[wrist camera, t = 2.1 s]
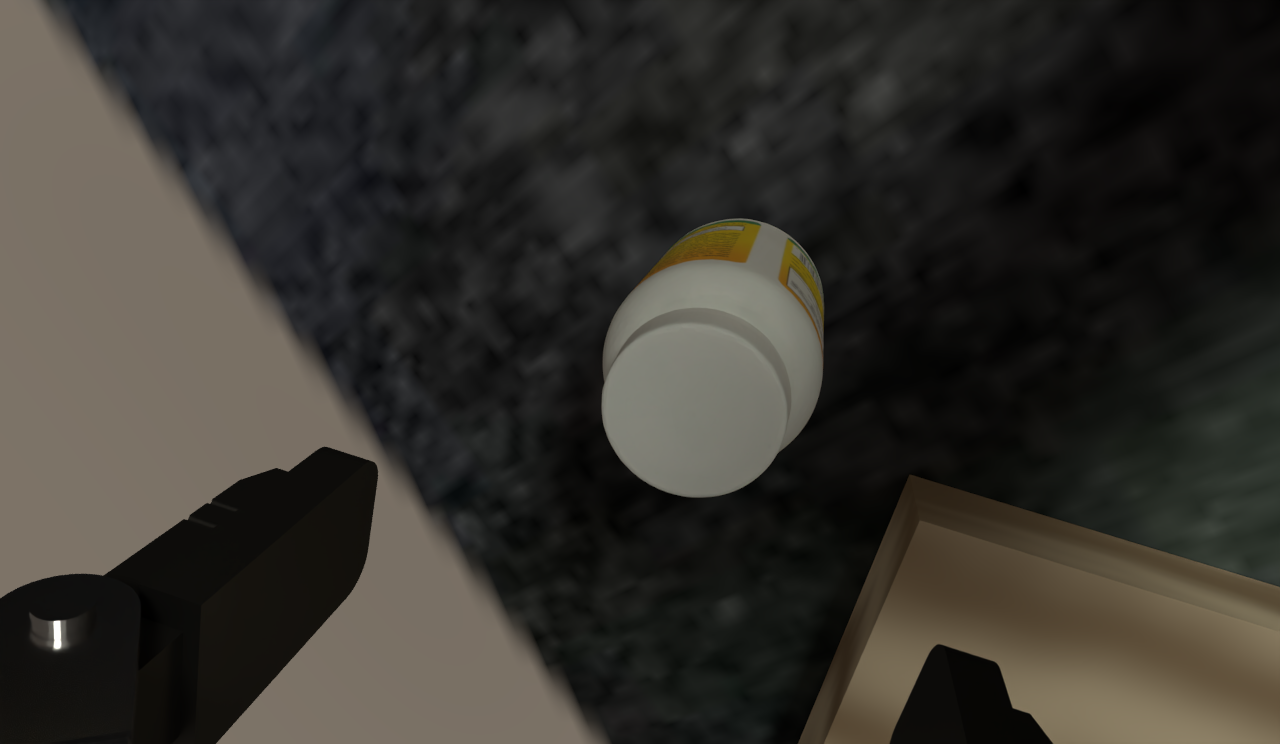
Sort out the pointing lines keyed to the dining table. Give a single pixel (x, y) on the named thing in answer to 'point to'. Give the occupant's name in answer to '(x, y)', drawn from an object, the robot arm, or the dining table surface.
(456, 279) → the dining table surface
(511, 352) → the dining table surface
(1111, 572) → the birch plinth
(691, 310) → the supplement bottle
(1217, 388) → the dining table surface
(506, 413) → the dining table surface
